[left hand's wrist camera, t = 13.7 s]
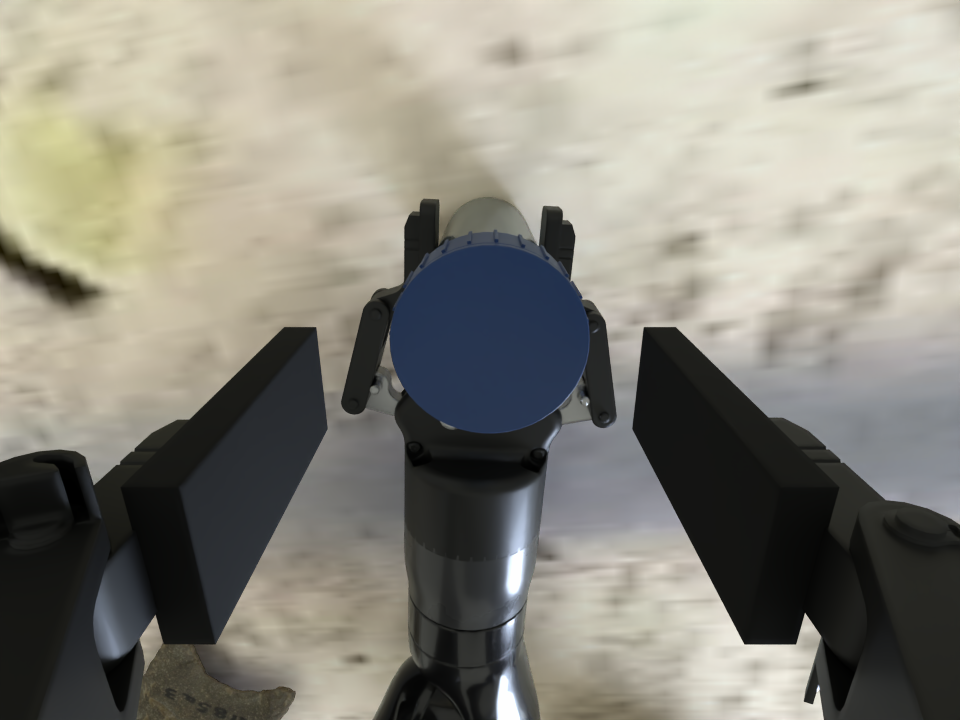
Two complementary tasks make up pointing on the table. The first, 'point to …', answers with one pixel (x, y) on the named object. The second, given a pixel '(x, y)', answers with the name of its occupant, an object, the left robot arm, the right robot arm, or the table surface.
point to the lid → (489, 333)
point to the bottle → (487, 219)
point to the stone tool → (201, 692)
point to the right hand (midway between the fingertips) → (490, 206)
